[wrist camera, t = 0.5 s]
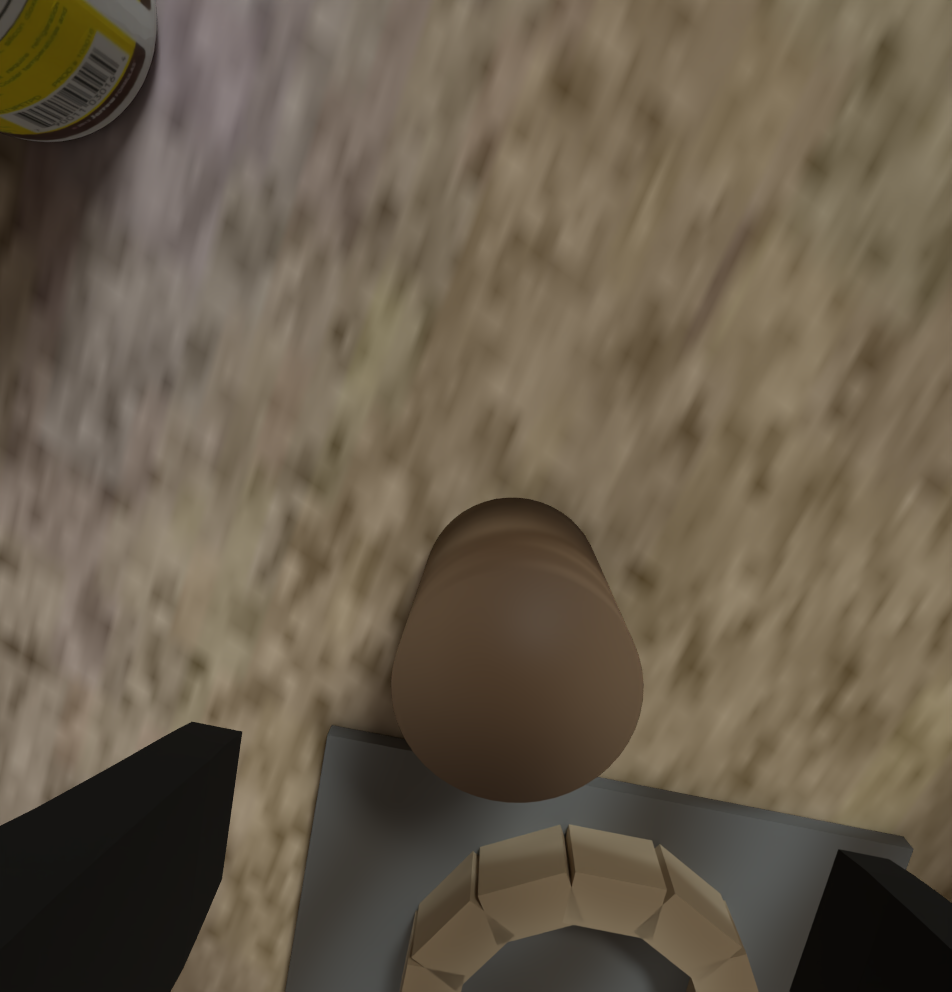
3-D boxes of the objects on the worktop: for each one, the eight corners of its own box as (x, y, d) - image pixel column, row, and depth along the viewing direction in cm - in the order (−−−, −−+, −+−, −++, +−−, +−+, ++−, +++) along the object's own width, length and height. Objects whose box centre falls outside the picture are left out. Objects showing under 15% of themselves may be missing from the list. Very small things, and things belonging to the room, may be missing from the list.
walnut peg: (616, 516, 18) (670, 598, 12) (577, 677, 19) (610, 823, 13) (442, 481, 18) (414, 547, 12) (412, 644, 19) (372, 777, 13)
